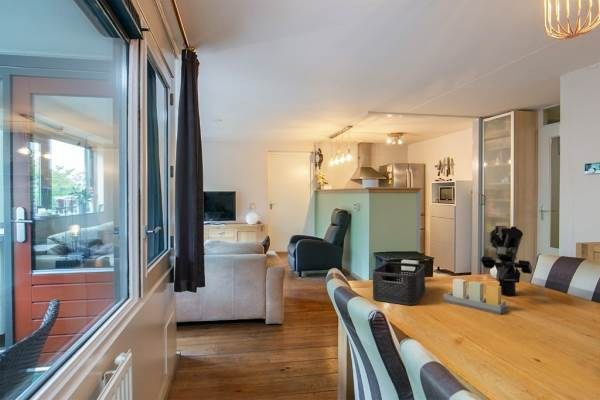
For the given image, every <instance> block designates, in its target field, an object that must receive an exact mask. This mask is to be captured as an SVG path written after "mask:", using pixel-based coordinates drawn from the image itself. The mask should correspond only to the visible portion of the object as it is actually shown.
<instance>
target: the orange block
mask: <svg viewBox="0 0 600 400" xmlns="http://www.w3.org/2000/svg"><path fill="white" fill-rule="evenodd" d="M485 290H486V291H485V298H486V303H488V304H492V305H497V306H498V305H499V304H501V303H502V294H501V286H499V285H498V284H497V285H496V284H487V285H486V286H485Z"/></svg>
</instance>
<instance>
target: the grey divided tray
mask: <svg viewBox="0 0 600 400" xmlns="http://www.w3.org/2000/svg"><path fill="white" fill-rule="evenodd" d="M443 302H444V303H448V304H453V305H457V306H459V307H460V306H461V307H464V308H465V307H466V308H469V309H473V310H477V311H483V312H486V313H490V314H495V315H499V316H501V315H503V314H504V313H506V312H507V311H508V310H509V307H507V301H503V302H501V304H499V305H498V306H497V305H492V304H488V303H486V297H485V298H483V300H481V301H474V300H469V294H467V296H465V297H463V298H460V297H455V296H453V291H451V292H449V293H446V294H445V293H444V294H443Z"/></svg>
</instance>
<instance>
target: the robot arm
mask: <svg viewBox="0 0 600 400" xmlns="http://www.w3.org/2000/svg"><path fill="white" fill-rule="evenodd" d="M523 235H524V233H523V232H522V230H520V229H519V228H517V226H510V227H508V226H506V225H496V226H495V227H494V229H492V231H490V233H489V237H488V239H489V243H490V244H491V247H492V248H494V249H495V250H496V252H495V255H497V258H496V259H495V260H494V258H493V256H489V255H482V256H481V258H480V261H481V263H482V265H483V268H486V269H492V268H494V266H495V267H496V269H497V274H496V278H497V279H496V280H497V282H498V283H499V284H498V286H501V296H506V297H514V296H519V294H518V293H516V288H517V287H516V284H517V283H518V284H519V283H520V279H521V278H520V277H521V275H522V274H521V272H522V273H523V274H529V275H530V274H532V273H533V267H532V264H531V262H530V261H529V260H525V259H523V260H522V259H519V260H518V261H517V262H516V260H517V255H518V251H519V249H520V244H521V241H522V239H523ZM519 269H521V272H520V270H519Z"/></svg>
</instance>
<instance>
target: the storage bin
mask: <svg viewBox="0 0 600 400" xmlns="http://www.w3.org/2000/svg"><path fill="white" fill-rule="evenodd" d="M401 266H408V267H415V270H414V271H408V270H401V269H398V267H401ZM417 267H418V268H417ZM425 268H426V266H425V264H422V263H421V264H420V263H419V264H410V263H401V262H398V261H397V262H395V261H386V262H384V263H383V264H381V265H379V266H377V267H376V268H374V269H372V299H373V300H375V301H378V302H382V303H383V302H384V303H390V304H397V305H406V306H410V305H411V306H412V305H417V304H418V303H419V301H420V300H421V298H422V297H423V295H424V294H425V292H426V281H425V280H426V278H425V277H426V276H425V275H426V274H425V273H426V272H425V271H426V270H425ZM417 269H418V270H417ZM402 272H403V273H402ZM404 272H405V273H404ZM415 273H416V274H415ZM404 274H405V275H404ZM402 278H403V279H402Z"/></svg>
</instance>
